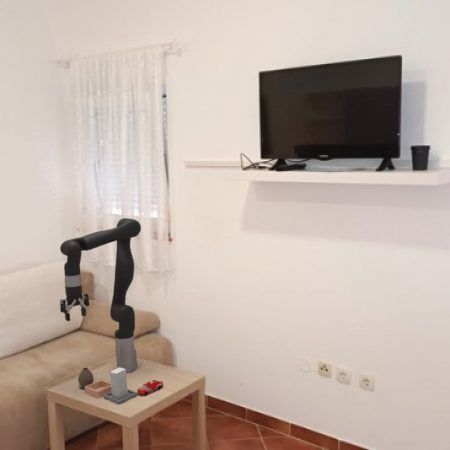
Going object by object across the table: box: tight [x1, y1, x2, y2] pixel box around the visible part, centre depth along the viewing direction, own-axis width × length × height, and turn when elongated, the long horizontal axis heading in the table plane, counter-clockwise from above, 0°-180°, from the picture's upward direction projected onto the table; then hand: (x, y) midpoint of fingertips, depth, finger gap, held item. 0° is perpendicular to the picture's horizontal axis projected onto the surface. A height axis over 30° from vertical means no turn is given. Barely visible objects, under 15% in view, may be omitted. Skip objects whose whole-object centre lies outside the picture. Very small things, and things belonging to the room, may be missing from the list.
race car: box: [136, 379, 164, 396], centre depth 255 cm, size 13×5×4 cm, turn 135°
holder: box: [84, 379, 112, 399], centre depth 256 cm, size 9×9×3 cm
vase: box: [77, 367, 95, 389], centre depth 262 cm, size 7×7×9 cm
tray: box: [103, 388, 138, 405], centre depth 250 cm, size 10×10×2 cm
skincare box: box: [109, 367, 128, 399], centre depth 249 cm, size 6×4×12 cm
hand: (75, 318), depth 261 cm, fingers open, 8 cm apart
